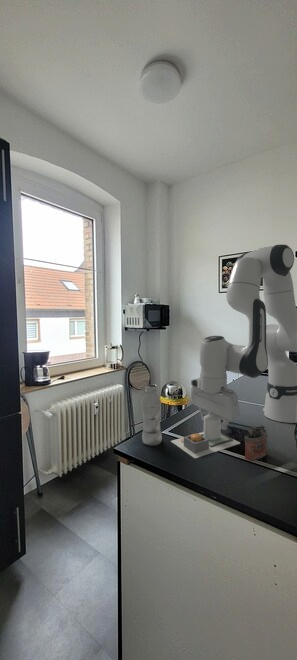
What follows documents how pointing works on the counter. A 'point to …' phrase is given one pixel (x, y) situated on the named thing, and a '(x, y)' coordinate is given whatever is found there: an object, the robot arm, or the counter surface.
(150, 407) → the plastic bottle
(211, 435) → the eye dropper bottle
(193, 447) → the white rectangular tray
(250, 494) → the counter surface
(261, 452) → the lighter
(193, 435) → the button
